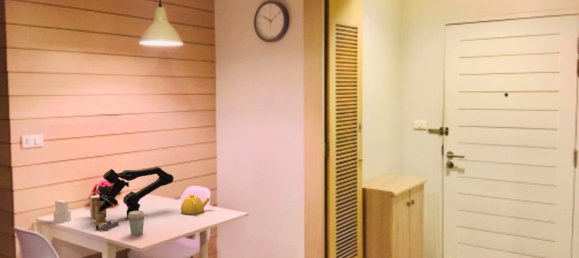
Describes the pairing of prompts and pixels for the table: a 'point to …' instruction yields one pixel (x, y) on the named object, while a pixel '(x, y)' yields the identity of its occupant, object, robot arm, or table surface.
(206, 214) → the table surface
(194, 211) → the teapot
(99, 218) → the tan flared column
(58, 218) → the cylinder with rectangular tab
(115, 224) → the steel rack
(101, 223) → the offcut stack
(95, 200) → the small box
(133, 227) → the coffee cup
